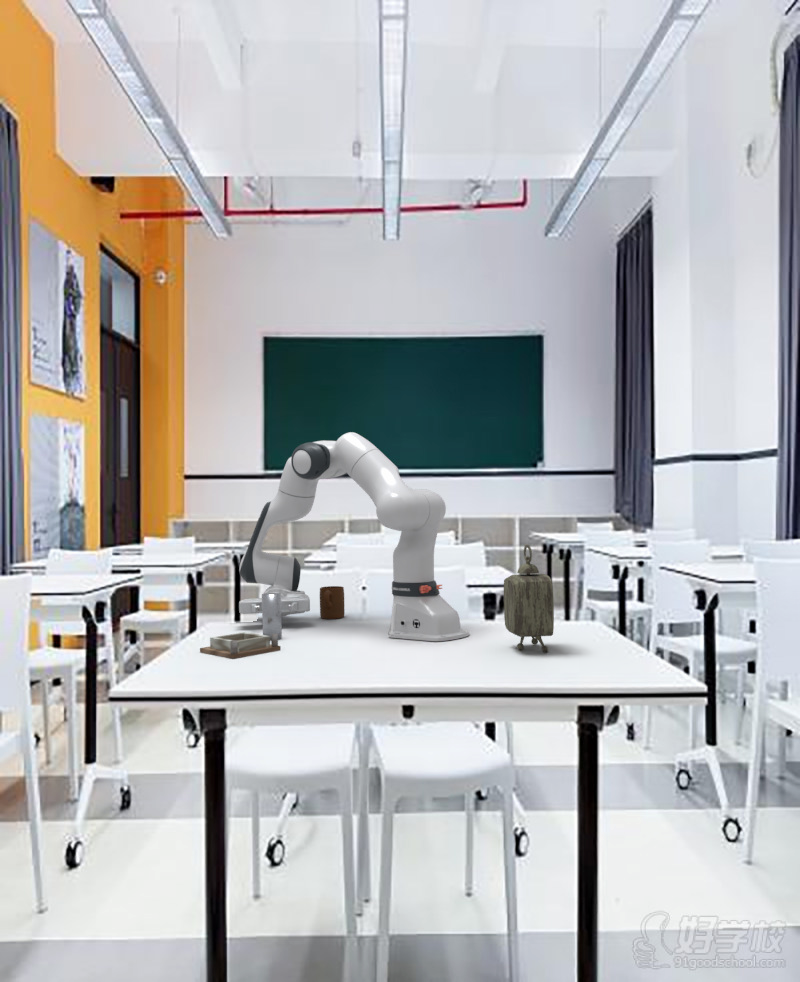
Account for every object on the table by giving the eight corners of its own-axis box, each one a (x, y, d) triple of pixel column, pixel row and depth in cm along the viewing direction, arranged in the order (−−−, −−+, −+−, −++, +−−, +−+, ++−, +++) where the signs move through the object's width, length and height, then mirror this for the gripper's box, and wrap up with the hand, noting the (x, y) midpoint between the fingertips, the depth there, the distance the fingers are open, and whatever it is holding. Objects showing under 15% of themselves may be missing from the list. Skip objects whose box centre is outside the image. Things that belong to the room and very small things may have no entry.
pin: (285, 638, 228) (284, 593, 228) (270, 641, 224) (269, 595, 224) (274, 636, 231) (273, 592, 231) (259, 639, 228) (258, 594, 228)
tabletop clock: (554, 654, 197) (552, 546, 197) (516, 655, 197) (513, 547, 197) (540, 643, 212) (537, 542, 212) (504, 644, 211) (501, 543, 211)
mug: (338, 621, 256) (338, 590, 256) (314, 621, 257) (313, 590, 257) (346, 615, 268) (346, 585, 268) (323, 616, 269) (322, 586, 269)
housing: (280, 650, 211) (280, 633, 211) (233, 658, 201) (232, 641, 201) (246, 644, 220) (246, 628, 220) (200, 652, 210) (199, 635, 210)
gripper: (240, 593, 252) (236, 598, 238) (309, 590, 254) (309, 596, 241) (240, 614, 252) (236, 621, 238) (310, 611, 254) (310, 618, 241)
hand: (273, 608), depth 239 cm, fingers open, 8 cm apart
